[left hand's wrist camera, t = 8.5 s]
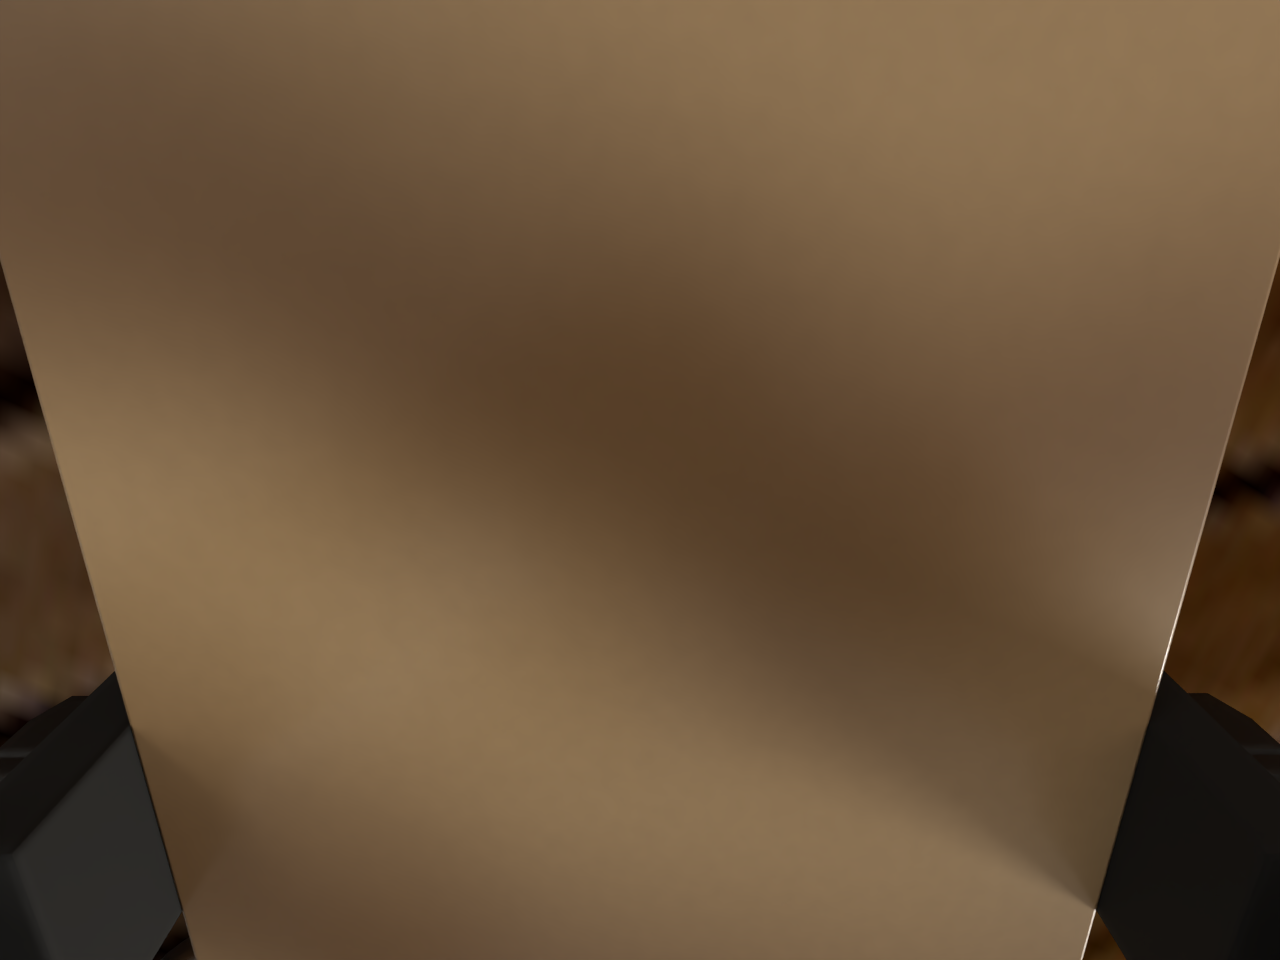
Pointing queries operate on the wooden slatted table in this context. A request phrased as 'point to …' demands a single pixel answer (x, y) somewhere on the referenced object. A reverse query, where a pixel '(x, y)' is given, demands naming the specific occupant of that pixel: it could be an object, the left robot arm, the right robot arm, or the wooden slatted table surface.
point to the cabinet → (639, 448)
